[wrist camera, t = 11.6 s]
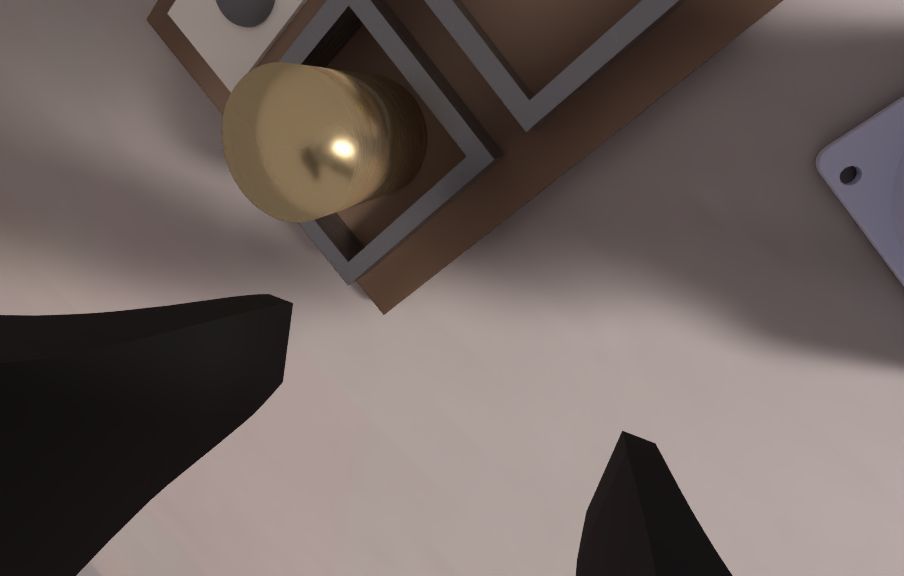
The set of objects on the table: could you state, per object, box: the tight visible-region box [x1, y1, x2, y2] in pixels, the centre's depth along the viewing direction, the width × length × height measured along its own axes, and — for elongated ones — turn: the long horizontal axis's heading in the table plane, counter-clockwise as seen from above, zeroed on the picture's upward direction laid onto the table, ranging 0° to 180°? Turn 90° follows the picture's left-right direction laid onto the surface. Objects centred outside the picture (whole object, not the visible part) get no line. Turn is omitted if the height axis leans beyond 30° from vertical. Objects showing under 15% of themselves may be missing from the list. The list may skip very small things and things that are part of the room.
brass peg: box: [222, 62, 427, 222], centre depth 16 cm, size 4×4×5 cm
